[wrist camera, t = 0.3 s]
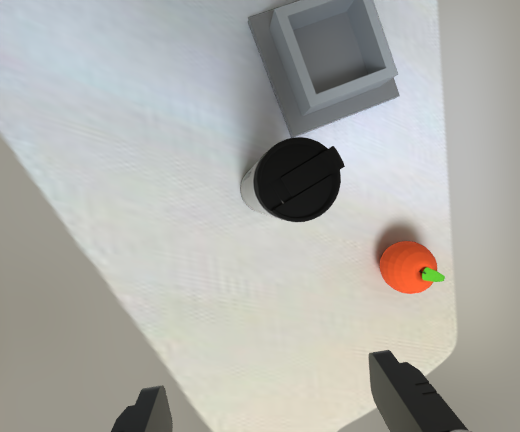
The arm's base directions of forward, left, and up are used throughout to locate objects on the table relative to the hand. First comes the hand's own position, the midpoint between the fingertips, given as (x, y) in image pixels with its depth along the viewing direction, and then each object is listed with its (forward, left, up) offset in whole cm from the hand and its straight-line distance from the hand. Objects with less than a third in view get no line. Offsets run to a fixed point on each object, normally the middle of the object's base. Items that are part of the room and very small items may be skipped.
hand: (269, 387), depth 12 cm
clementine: (+10, +21, -30) cm, 38 cm away
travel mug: (-7, +7, -30) cm, 32 cm away
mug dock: (-20, +21, -30) cm, 42 cm away
